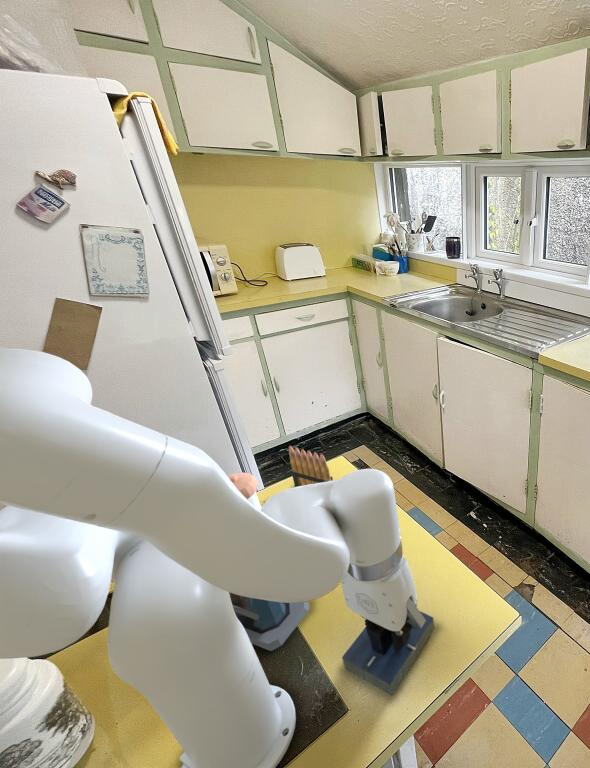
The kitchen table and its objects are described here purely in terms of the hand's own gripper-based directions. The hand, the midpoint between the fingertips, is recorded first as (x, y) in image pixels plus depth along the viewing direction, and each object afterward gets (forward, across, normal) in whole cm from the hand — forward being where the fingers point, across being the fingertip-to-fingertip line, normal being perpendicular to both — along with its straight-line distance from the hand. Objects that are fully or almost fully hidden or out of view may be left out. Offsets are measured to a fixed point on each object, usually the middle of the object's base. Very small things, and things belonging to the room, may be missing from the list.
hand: (389, 634), depth 64 cm
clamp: (+4, -34, -6) cm, 35 cm away
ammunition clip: (+4, -40, +22) cm, 46 cm away
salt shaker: (+4, -36, +4) cm, 36 cm away
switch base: (+4, 0, 0) cm, 4 cm away
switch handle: (0, 0, 0) cm, 0 cm away
